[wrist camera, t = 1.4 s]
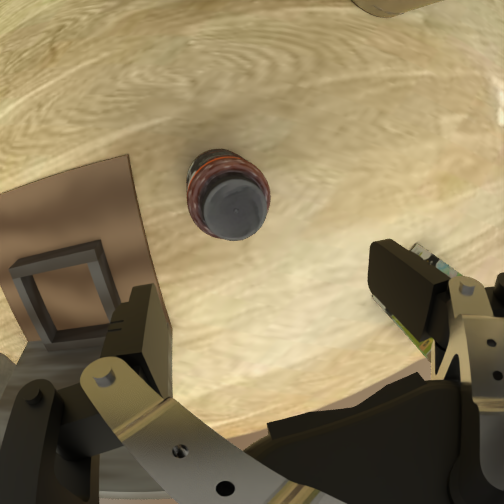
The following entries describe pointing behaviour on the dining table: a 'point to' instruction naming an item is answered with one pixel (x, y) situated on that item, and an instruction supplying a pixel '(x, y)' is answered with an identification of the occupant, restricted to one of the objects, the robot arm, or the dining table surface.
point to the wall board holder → (75, 287)
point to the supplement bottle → (227, 195)
